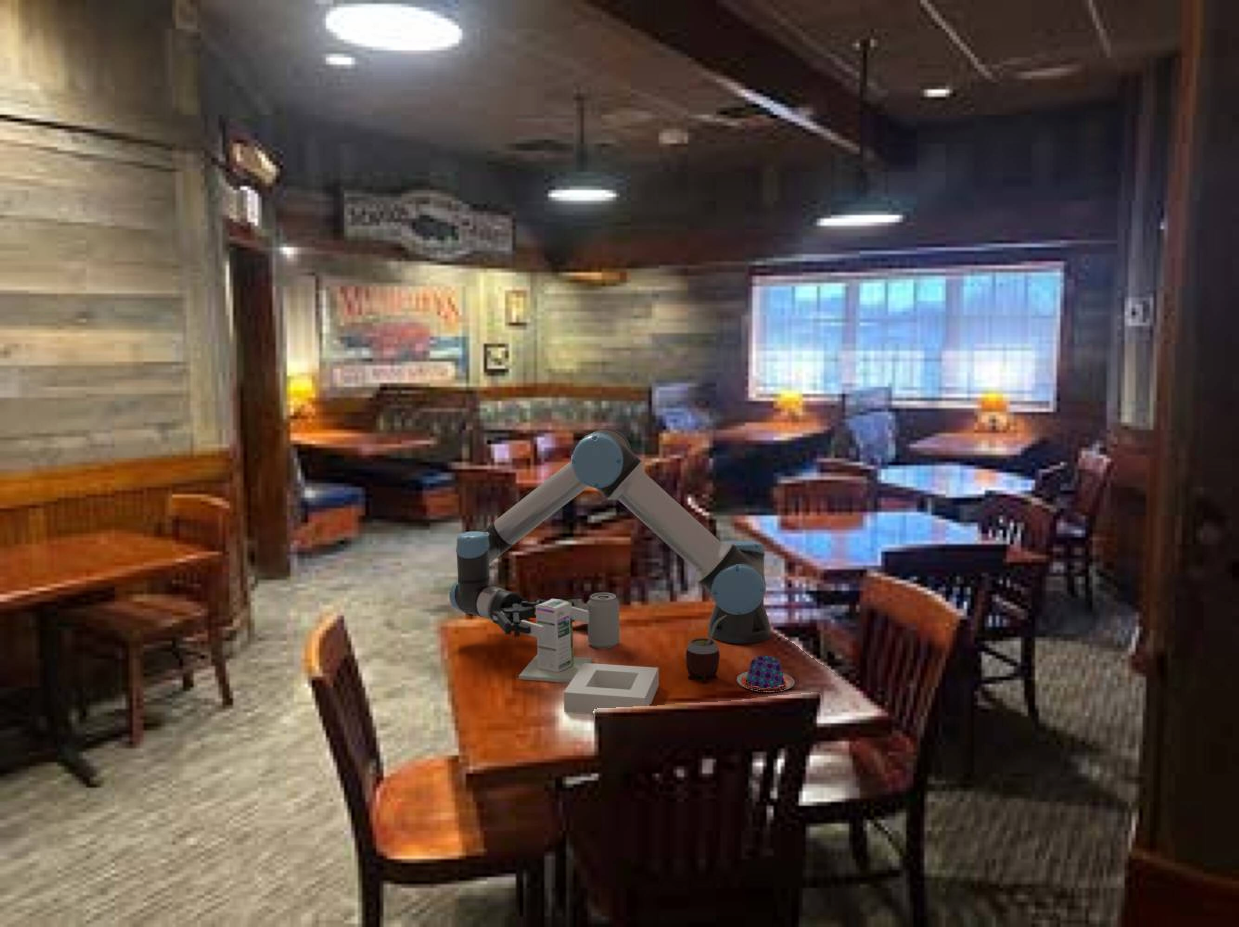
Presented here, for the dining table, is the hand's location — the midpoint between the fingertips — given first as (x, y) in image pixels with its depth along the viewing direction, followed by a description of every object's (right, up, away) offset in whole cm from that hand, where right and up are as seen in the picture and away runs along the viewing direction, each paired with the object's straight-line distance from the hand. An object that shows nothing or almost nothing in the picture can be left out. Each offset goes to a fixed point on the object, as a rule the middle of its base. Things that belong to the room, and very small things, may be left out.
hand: (566, 624), depth 193 cm
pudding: (+42, -12, -5) cm, 44 cm away
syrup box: (-3, -10, +4) cm, 11 cm away
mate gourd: (+30, -11, -2) cm, 32 cm away
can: (+8, -8, +20) cm, 23 cm away
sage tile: (-2, -11, +4) cm, 11 cm away
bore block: (+10, -13, -12) cm, 20 cm away
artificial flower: (-5, -7, +35) cm, 36 cm away
